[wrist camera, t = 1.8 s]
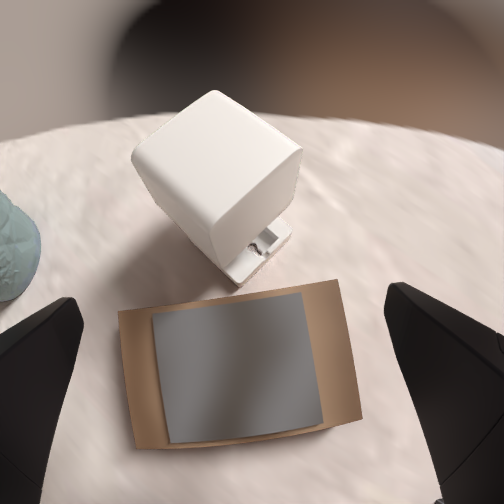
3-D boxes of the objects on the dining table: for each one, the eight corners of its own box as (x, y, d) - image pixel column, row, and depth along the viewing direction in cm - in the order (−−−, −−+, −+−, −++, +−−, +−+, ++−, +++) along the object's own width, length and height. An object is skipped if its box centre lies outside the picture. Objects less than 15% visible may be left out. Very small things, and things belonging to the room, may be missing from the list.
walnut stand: (150, 439, 19) (133, 450, 16) (134, 317, 22) (114, 310, 19) (349, 412, 20) (365, 420, 16) (327, 289, 23) (339, 276, 19)
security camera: (230, 176, 26) (218, 84, 16) (296, 232, 24) (319, 152, 15) (171, 229, 24) (125, 153, 15) (235, 293, 23) (220, 243, 13)
